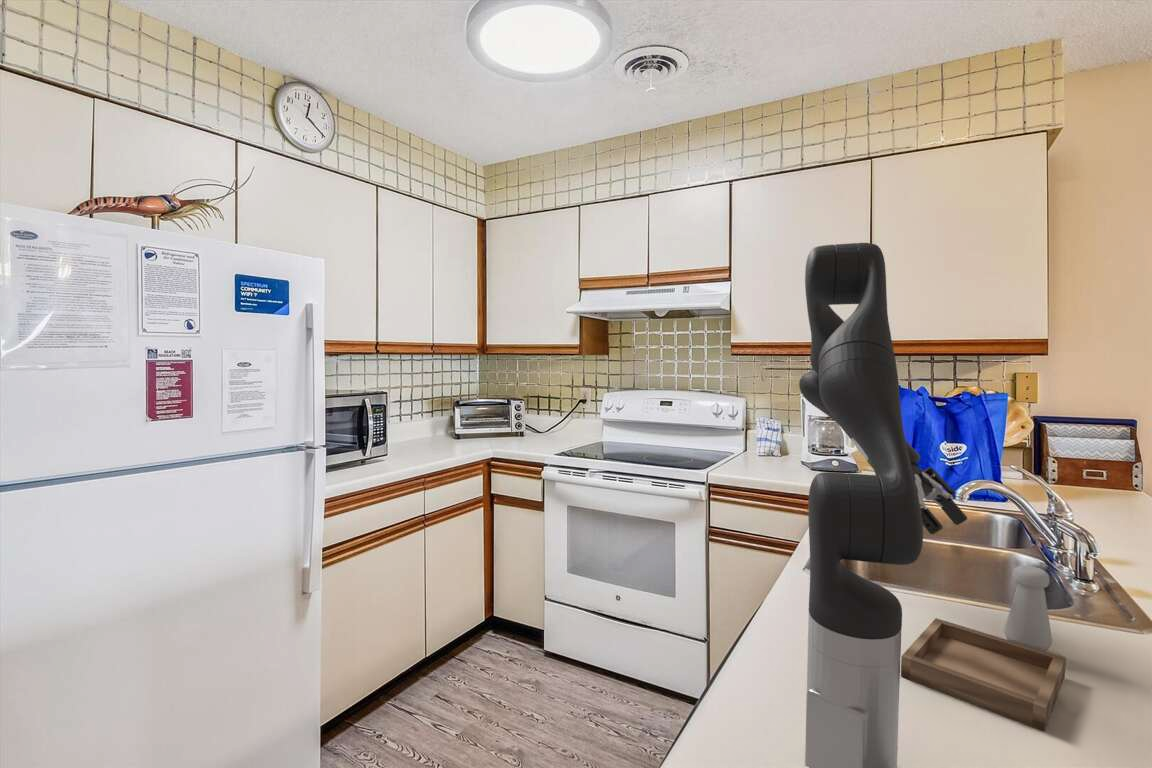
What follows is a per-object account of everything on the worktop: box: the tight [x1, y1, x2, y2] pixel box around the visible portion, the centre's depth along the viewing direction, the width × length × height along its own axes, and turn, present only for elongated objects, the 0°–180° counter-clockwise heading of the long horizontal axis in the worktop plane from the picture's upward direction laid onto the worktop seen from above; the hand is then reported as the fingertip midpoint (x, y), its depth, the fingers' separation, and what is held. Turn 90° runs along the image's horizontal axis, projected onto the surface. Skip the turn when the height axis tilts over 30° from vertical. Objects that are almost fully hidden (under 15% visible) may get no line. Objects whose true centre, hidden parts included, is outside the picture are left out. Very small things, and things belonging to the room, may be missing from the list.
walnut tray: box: [900, 617, 1066, 732], centre depth 81 cm, size 16×16×3 cm
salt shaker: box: [1003, 564, 1053, 652], centre depth 87 cm, size 6×6×13 cm
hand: (950, 526), depth 96 cm, fingers open, 8 cm apart
